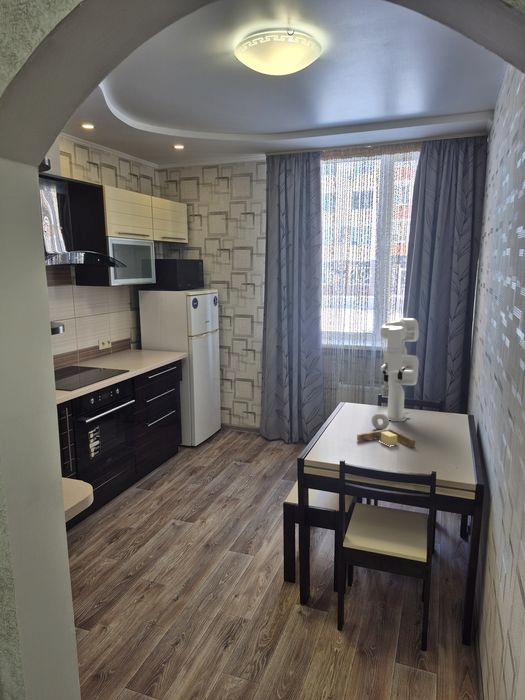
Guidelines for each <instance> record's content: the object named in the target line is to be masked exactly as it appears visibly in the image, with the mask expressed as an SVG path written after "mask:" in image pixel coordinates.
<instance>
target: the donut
mask: <svg viewBox="0 0 525 700" xmlns="http://www.w3.org/2000/svg"><path fill="white" fill-rule="evenodd" d="M386 415H387V414H385V413H382V412H377V413H375V414H373V416H372V418H371V424H372V426H373V427H374V428H375V429H376V430H379V429H382V430H385V429H388V427H389V424H390V421H389V419H388V417H387V416H386ZM378 420H382V423H379V421H378Z"/></svg>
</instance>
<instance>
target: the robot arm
mask: <svg viewBox="0 0 525 700" xmlns="http://www.w3.org/2000/svg"><path fill="white" fill-rule="evenodd" d="M419 330H420V329H419V322H418V320H417V319H416V318H413V317H411V318H410V317H400V318H399V317H398V318H396V319H394V321H392V322H388V323H384V324H383V325H382V326H381V328H380V338H381V339H383V340H387V343H386V344H387V346H386V352H385V354H384V358H383V359H384V361H383V365H382V366H380V368H379V369H380V372H381V373H382V374H383V382H385V383H388V384H387V385H388V392H387V393H388V395H387V414H385V415H386V416H387V417H388V419H389V420H391V421H390V422H396V421H398V422H405V421H406V419H407V417H406V415H410V411H408V410H407V411H405V390H404V388H403V386H415V385H416V384H417V383H418V377H419V365H420V363H419V358H418V357H417V355H414V354H408V350H407V346H405V344H404V343H403V342H410V343H414V342H417V341H418V339H419V337H420V333H419V332H420V331H419Z"/></svg>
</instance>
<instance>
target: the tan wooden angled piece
mask: <svg viewBox="0 0 525 700" xmlns="http://www.w3.org/2000/svg"><path fill="white" fill-rule="evenodd" d="M382 431H389V432H391V433H393V434H396V435H397V440H398V441H397V442H399V441H400V442H399V443H401V442H402V443H401V444H403V443H404V445H405V444H406V446H407V445H408V447H409V446H410V447H409V448H411V447H412V448H411V449H414V448H416V440H415V439H413V438H411V437H409V436H407V435H404V434H403V433H401V432H399V431H396V430H394V429H392V428H386V429H383V430H379V429H378V430H374V431H370V432H369V431H368V432H364V433H359V434H356V436H357V437H356V441H357V440H358V441H364V440H369V441H371V440H370V439H374V440H376V439H375V438H380V432H382ZM364 442H365V441H364ZM399 443H397V444H396V445H398V446H400V444H399ZM396 445H394V446H393V447H397V446H396ZM385 447H387V445H386V446H385Z"/></svg>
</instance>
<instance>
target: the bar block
mask: <svg viewBox="0 0 525 700" xmlns="http://www.w3.org/2000/svg"><path fill="white" fill-rule="evenodd" d="M379 440H380V441H381V442H383V443H385V444H387V445H389V446H390V445H396V444H398V441H397V435H396V434H393V433H391V432H389V431H382V432H380V439H379Z"/></svg>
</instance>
